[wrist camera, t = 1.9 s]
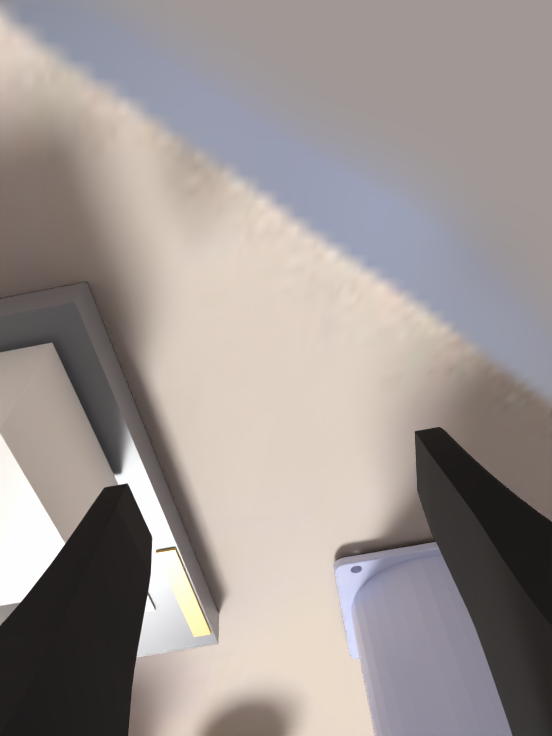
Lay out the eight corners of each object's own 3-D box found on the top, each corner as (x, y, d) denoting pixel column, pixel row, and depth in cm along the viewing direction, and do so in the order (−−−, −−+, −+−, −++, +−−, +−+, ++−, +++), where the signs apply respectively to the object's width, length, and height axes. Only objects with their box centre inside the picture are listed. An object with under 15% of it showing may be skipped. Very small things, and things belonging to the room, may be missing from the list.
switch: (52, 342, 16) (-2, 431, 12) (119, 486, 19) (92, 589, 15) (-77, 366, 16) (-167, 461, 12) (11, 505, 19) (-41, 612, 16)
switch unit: (87, 281, 17) (73, 303, 15) (219, 614, 26) (218, 646, 25) (-272, 351, 17) (-316, 378, 16) (-14, 653, 27) (-28, 686, 25)
